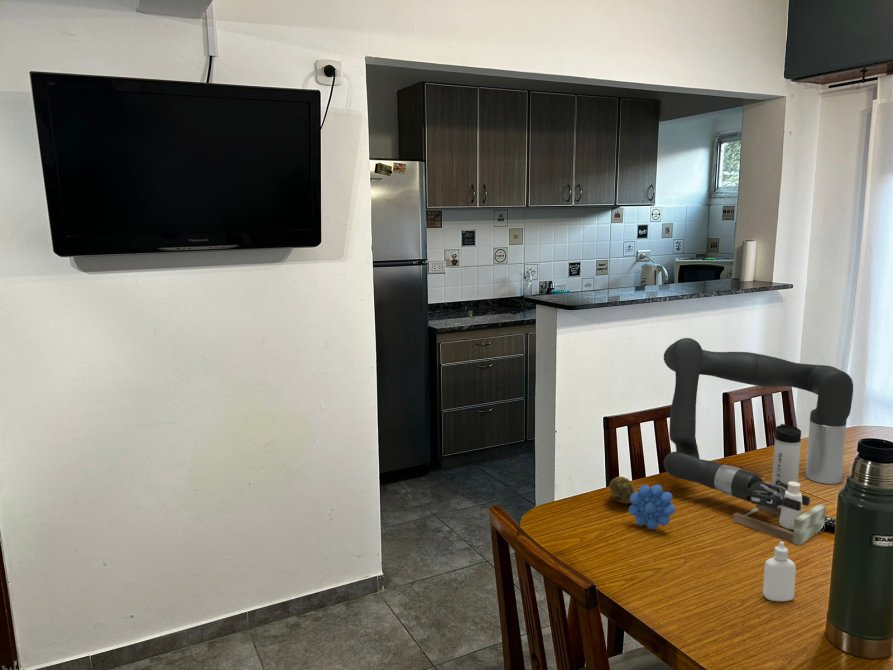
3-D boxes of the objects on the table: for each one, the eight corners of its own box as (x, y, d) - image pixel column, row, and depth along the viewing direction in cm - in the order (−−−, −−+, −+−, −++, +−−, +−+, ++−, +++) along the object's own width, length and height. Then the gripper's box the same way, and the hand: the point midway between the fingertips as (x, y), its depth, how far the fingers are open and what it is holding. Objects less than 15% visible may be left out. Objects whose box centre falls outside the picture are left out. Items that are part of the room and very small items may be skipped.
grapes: (679, 528, 167) (681, 483, 165) (670, 539, 162) (672, 492, 160) (634, 517, 174) (636, 473, 172) (624, 526, 169) (626, 481, 167)
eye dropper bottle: (763, 588, 140) (767, 534, 138) (794, 595, 137) (798, 540, 135) (761, 598, 136) (765, 543, 134) (792, 606, 133) (797, 550, 131)
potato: (647, 498, 186) (648, 470, 184) (628, 514, 176) (629, 485, 174) (619, 491, 191) (620, 464, 190) (599, 506, 181) (599, 478, 180)
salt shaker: (807, 529, 163) (811, 487, 161) (786, 530, 163) (790, 488, 161) (794, 519, 168) (798, 478, 166) (774, 520, 168) (777, 479, 166)
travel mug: (790, 492, 188) (795, 423, 184) (800, 502, 181) (805, 431, 178) (767, 492, 188) (771, 423, 185) (776, 501, 182) (781, 431, 178)
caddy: (758, 507, 178) (760, 486, 177) (824, 528, 166) (825, 506, 165) (732, 521, 171) (734, 499, 170) (799, 545, 158) (801, 521, 157)
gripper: (723, 475, 171) (792, 497, 157) (752, 462, 179) (819, 482, 166) (721, 503, 172) (789, 527, 158) (750, 489, 180) (817, 510, 167)
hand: (804, 504), depth 162 cm, fingers closed on salt shaker, 3 cm apart
